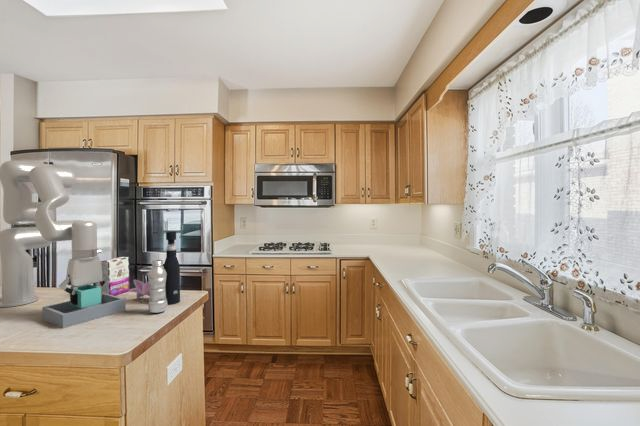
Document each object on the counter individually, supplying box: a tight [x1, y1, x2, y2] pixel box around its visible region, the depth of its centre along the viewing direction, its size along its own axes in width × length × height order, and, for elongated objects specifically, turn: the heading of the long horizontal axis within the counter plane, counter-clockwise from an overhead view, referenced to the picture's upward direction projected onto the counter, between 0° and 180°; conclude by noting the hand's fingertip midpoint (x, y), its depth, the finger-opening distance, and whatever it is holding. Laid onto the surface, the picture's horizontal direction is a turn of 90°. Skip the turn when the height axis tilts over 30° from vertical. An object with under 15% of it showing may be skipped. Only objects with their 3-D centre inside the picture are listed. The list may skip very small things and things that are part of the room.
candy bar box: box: [100, 256, 131, 296], centre depth 140 cm, size 11×5×16 cm, turn 168°
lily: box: [127, 279, 150, 304], centre depth 130 cm, size 12×12×10 cm
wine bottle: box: [162, 231, 181, 306], centre depth 128 cm, size 6×6×30 cm
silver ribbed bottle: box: [147, 259, 168, 314], centre depth 116 cm, size 6×7×20 cm
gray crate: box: [42, 293, 127, 329], centre depth 113 cm, size 16×20×4 cm
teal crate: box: [70, 284, 101, 308], centre depth 113 cm, size 8×6×6 cm
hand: (85, 301), depth 113 cm, fingers closed on teal crate, 6 cm apart
